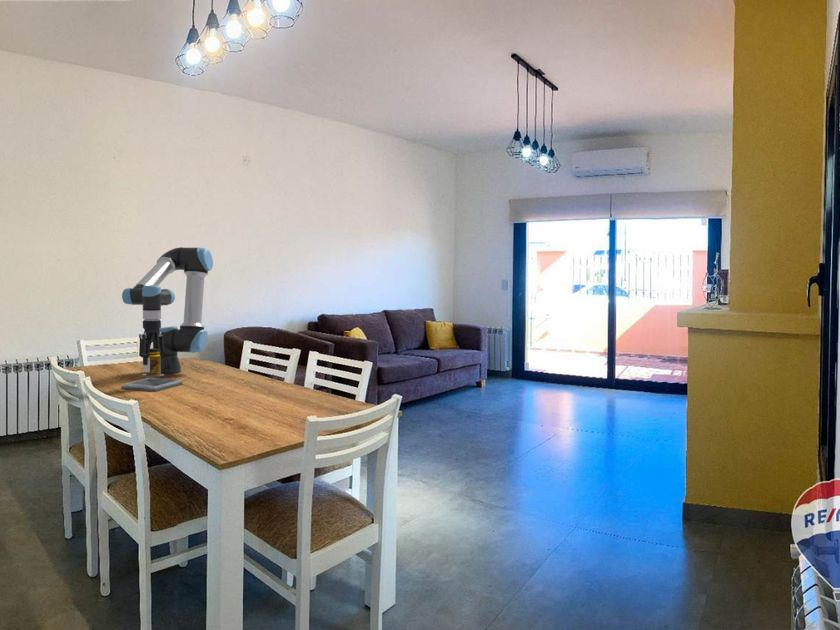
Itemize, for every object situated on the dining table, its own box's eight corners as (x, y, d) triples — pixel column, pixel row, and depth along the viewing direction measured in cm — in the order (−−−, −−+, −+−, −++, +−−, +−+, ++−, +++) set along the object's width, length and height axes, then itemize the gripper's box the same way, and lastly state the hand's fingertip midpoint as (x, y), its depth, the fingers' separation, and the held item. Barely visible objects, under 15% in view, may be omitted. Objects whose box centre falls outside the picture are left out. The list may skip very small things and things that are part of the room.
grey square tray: (150, 381, 286) (150, 377, 286) (182, 384, 281) (182, 379, 281) (121, 388, 269) (121, 383, 269) (155, 391, 264) (154, 386, 264)
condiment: (148, 377, 270) (148, 350, 269) (141, 374, 276) (141, 348, 275) (165, 375, 275) (164, 349, 274) (157, 373, 281) (157, 347, 280)
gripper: (159, 318, 283) (160, 367, 285) (129, 320, 265) (129, 373, 266) (173, 318, 281) (173, 368, 282) (143, 321, 263) (143, 374, 264)
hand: (152, 370), depth 274 cm, fingers closed on condiment, 6 cm apart
